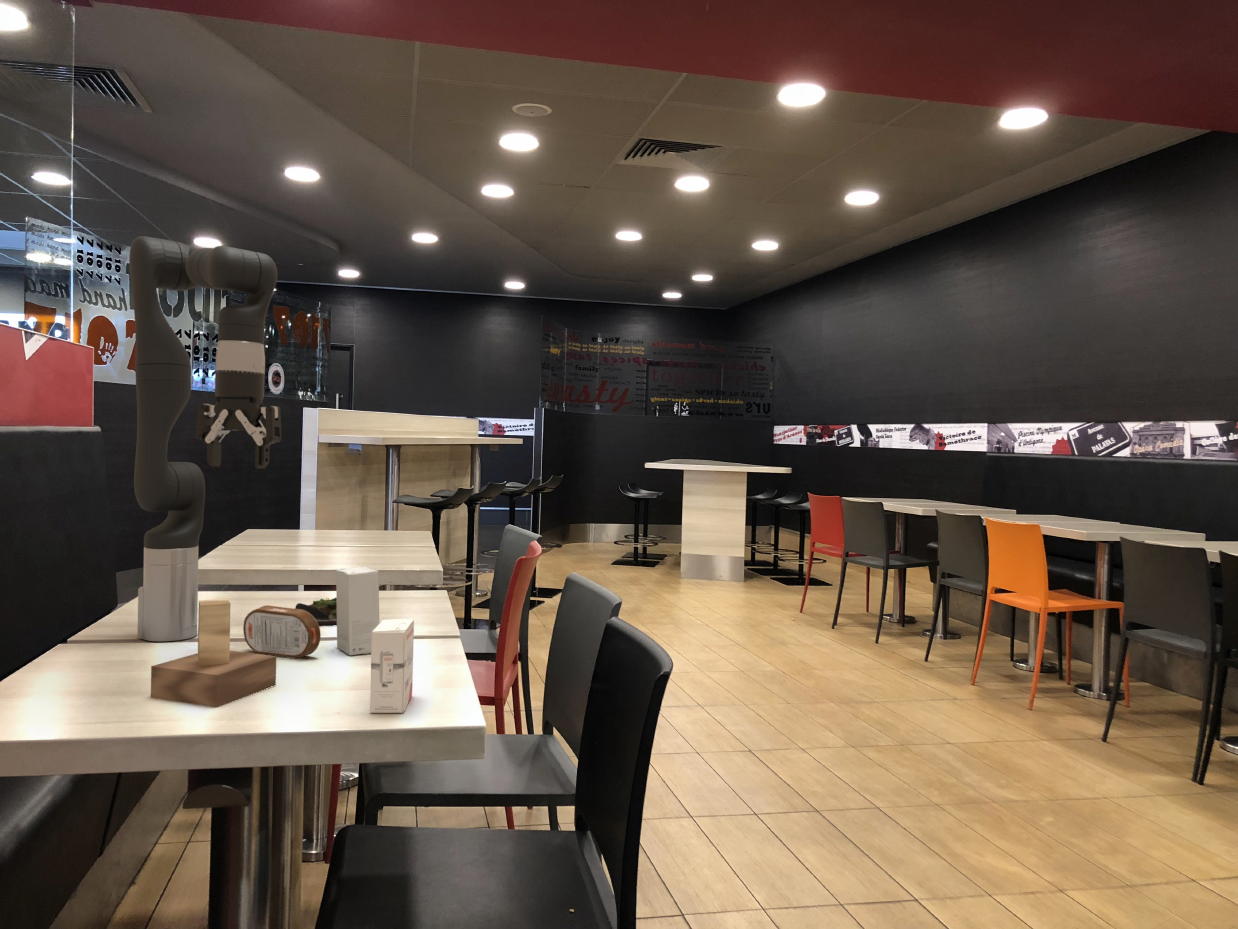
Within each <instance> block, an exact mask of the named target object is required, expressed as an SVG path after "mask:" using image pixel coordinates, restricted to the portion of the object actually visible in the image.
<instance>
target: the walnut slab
mask: <svg viewBox="0 0 1238 929" xmlns="http://www.w3.org/2000/svg"><path fill="white" fill-rule="evenodd" d="M150 667H151V668H150V669H151V672H150V698H152V699H158V700H165V701H172V702H177V703H185V704H189V705H190V704H192V705H197V706H205V707H213V708H219V707H222V706H225V705H228V704H230V703H232V701H233V702H235V700H236V701H237V700H241V699H243V697H244V698H245V697H249V696H251V694H252V695H254V694H253V693H255V694H256V692H257V693H259V691H260V692H262V691H261V690H263V691H265V690H267V689H266V688H268V687H271V686H273V687H275V686H274V685H276V684H277V682H276V681H277V656H273V655H266V654H260V653H255V652H254V653H252V652H245V651H244V652H243V651H238V650H230V661H229V664H218V665H208V666H199V663H198V652H197V653H193V654H190V655H186V656H182V657H179V658H176V659H172V660H169V661H165V662H160V663H158V664H153V665H151V666H150ZM271 688H272V687H271ZM264 689H265V690H264ZM268 689H269V688H268Z"/></svg>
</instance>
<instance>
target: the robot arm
mask: <svg viewBox="0 0 1238 929" xmlns="http://www.w3.org/2000/svg"><path fill="white" fill-rule="evenodd" d="M128 261H129V264H128V266H129V276H130V277H129V278H130V286H131V294H132V296H131V297H132V302H133V311H134V312H133V313H134V329H135V330H134V333H135V356H134V357H135V362H134V366H135V367H134V368H135V371H134V372H135V388H136V405H137V406H136V409H137V410H136V411H137V413H136V419H137V422H136V423H137V424H136V425H137V426H136V428H137V430H136V448H135V457H134V458H135V459H134V461H135V462H134V474H133V475H134V476H133V486H134V494H135V495H134V496H135V499H136V501H137V502H136V503H138V505H139V506H140V508H141V509H143V510H144V511H147V512H151V513H152V512H168V514H167V517H166V518H165V519H164V521H162V522H161V523H160V524H159V525H157V526H154V527H153V528H151V529H150V530H147V531H146V532H145V533H144V537H143V575H142V576H143V580H142V581H143V585H142V586H139V588H138V589H137V590H138V591H137V638H138V639H142V640H144V641H149V642H173V641H174V642H175V641H182V640H187V639H191V638H194V637H196V636H198V607H199V545H200V544H199V542H200V537H201V536H200V535H201V534H202V532H203V526H204V513H205V512H204V511H205V499H206V481H205V477H204V473H203V471H202V470H201V468H200V466H198V465H197V464H196V463H193V462H189V461H168V444H169V438H170V435H171V432H172V429H173V427H174V425H175V424H176V422H177V420H178V418H179V417H180V415H181V414H182V413H183V410H184V409H185V407H186V405H187V404H188V402H189V399H190V397H191V393H192V374H191V373H192V370H191V365H192V364H191V357H190V354H189V353H188V351H187V349H186V347H185V345H184V344H183V342H182V340H180V338H179V337H178V335H177V333H176V332H175V331H174V330H173V328H172V327H171V325H170V323H169V322H168V321H167V319H166V317H165V315H164V313H163V311H162V308H161V305H160V301H159V296H158V290H157V289H161V290H168V291H176V292H179V291H187V290H193V289H196V288H199V287H201V288H204V289H208V290H209V289H210V290H218V291H229V292H236V293H237V292H238V293H242V294H243V293H244V294H247V298H246V301H245V302H244V304H238V305H237V304H236V305H235V304H234V305H227V306H224V307H222V308H221V309H220V310H219V313H218V322H217V323H218V327H217V328H218V329H217V330H218V331H217V347H216V351H215V352H216V353H215V372H214V374H215V375H214V377H215V378H214V396H215V398H216V402H215V404H214V405H213V404H210V403H199V404H198V405H197V414H196V428H195V438H196V439H197V440H201V441H203V442H205V443H206V462H207V463H208V466H209V467H221V465H222V444H221V442H222V440H223V439H224V438H225V436H226V435H228V434H229V433H230V432H231V431H239V432H247V434H248V435H249V436H251V437H252V439H253V441H254V442H255V444H256V445H255V453H254V456H255V457H254V468H255V469H261V470H262V469H266V468H267V466H268V465H269V463H270V447H271V445H272V444H275V443H280V442H281V441H282V416H281V413H282V412H281V411H282V410H281V408H280V406H277V405H275V406H274V405H267V406H264V405H263V400H264V397H265V375H266V374H265V372H266V370H265V368H266V356H265V355H266V354H265V322H266V317H267V314H268V310H269V309H268V308H269V306H270V302H271V299H272V296H273V294H274V291H275V288H276V285H277V282H278V269H277V266H276V263H275V261H274V260H273V259H272V257H271V256H269V254H265V253H262V252H257V251H252V250H248V249H242V248H236V247H232V246H225V245H224V246H223V245H217V246H215V247H213V248H212V247H204V248H198V249H197V248H195V247H193V246H190V245H189V244H186V243H183V242H179V241H174V240H171V239H165V238H164V239H163V238H159V237H151V236H145V235H144V236H142V235H140V236H137V237H136V238H134V239H133V241H132V242H131V245H130V249H129V258H128ZM215 416H216V417H217V419H216V420H215V421H214V417H215ZM262 417H263V418H264V419H265V426H264V424H263V423H262V421H261V419H262ZM213 422H214V423H213Z"/></svg>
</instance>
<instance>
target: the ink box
mask: <svg viewBox="0 0 1238 929" xmlns="http://www.w3.org/2000/svg"><path fill="white" fill-rule="evenodd" d="M414 629H415V619H414V618H397V619H394V618H393V619H382V620H381V622H379V625H378V626H377V627H376V628H375V629H374V630H373V631H372V640H371V653H370V696H369V700H370V701H369V703H370V704H369V705H370V706H369V713H371V714H400V713H401V714H404V713H405V711H406V708H407V707H408V705H409V702H410V700H411V698H412V696H413V681H414V680H413V677H414V676H413V675H414V674H413V673H414V643H415V642H414V638H415V637H414V635H415V634H414V633H415V630H414Z"/></svg>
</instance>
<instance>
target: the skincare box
mask: <svg viewBox="0 0 1238 929" xmlns="http://www.w3.org/2000/svg"><path fill="white" fill-rule="evenodd" d="M335 575H336V578H335V583H336V585H335V586H336V587H335V589H336V591H335V592H336V598H337V626H336V648H338V649H339V650H341V651H342V652H344V653H345V654H346V655H348V656H356V655H365V654H371V640H372V631H373V630H374V629H375V628H376V627H377V626H378V625H379V624H380V588H379V587H380V580H379V570H377V569H372V568H369V567H367V566H359V567H358V566H357V567H347V568H337V569H335Z"/></svg>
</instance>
